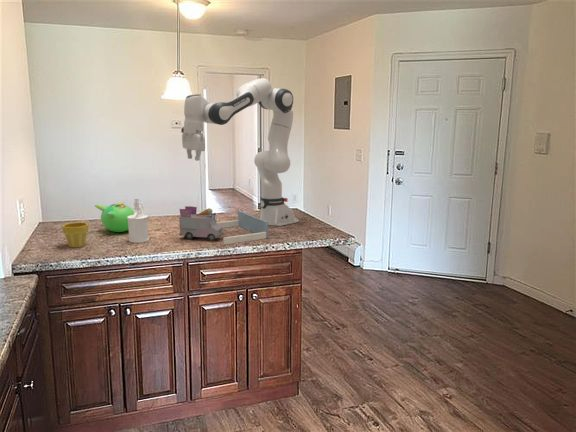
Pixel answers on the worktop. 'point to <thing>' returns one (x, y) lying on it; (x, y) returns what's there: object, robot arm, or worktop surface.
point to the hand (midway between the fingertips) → (193, 159)
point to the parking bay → (249, 223)
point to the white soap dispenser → (138, 225)
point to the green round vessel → (115, 216)
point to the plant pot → (75, 233)
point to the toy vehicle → (199, 224)
